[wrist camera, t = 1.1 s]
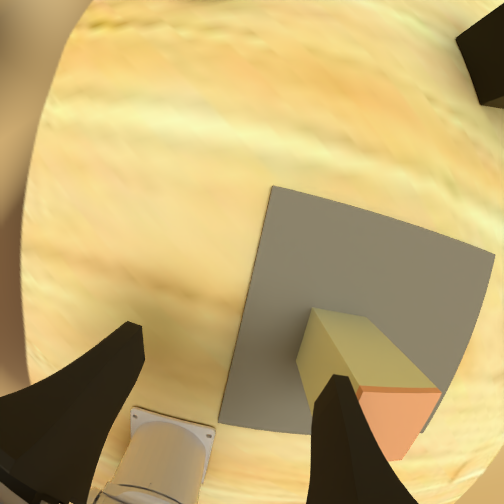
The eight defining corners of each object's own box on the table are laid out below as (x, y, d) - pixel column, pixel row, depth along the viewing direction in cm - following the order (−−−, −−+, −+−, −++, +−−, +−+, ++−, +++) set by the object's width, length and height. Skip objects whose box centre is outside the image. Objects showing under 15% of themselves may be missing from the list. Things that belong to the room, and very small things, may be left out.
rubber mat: (420, 429, 24) (423, 432, 23) (218, 418, 23) (217, 422, 23) (491, 253, 21) (495, 254, 21) (272, 186, 21) (273, 185, 20)
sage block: (348, 367, 22) (401, 459, 11) (295, 360, 22) (325, 463, 11) (366, 316, 21) (442, 392, 10) (312, 307, 21) (363, 391, 10)
